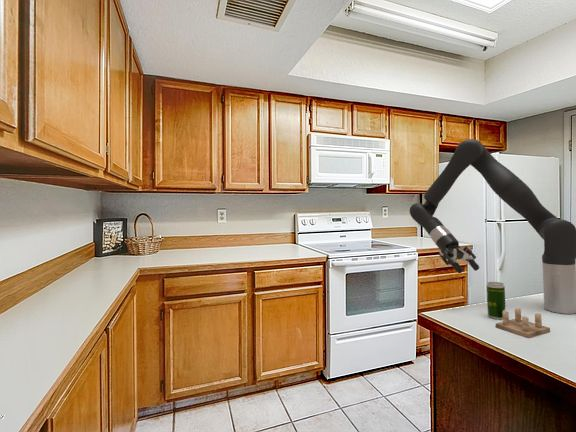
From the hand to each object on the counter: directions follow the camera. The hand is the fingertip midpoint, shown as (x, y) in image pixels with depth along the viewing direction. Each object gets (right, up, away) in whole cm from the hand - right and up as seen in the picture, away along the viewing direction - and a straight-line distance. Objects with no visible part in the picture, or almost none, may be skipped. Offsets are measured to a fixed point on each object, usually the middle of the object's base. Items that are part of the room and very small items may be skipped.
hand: (469, 270), depth 121 cm
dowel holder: (+5, -15, -21) cm, 26 cm away
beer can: (+4, -15, -9) cm, 18 cm away
